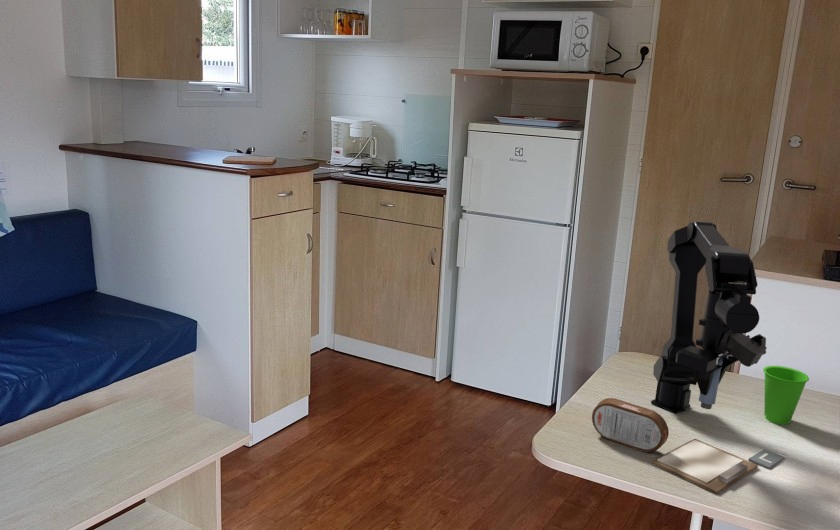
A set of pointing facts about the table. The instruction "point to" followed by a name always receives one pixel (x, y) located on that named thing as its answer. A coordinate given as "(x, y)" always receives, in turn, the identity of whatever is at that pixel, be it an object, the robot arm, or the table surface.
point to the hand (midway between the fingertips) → (708, 392)
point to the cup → (782, 392)
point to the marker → (711, 390)
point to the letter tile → (766, 458)
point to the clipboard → (705, 465)
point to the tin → (630, 424)
